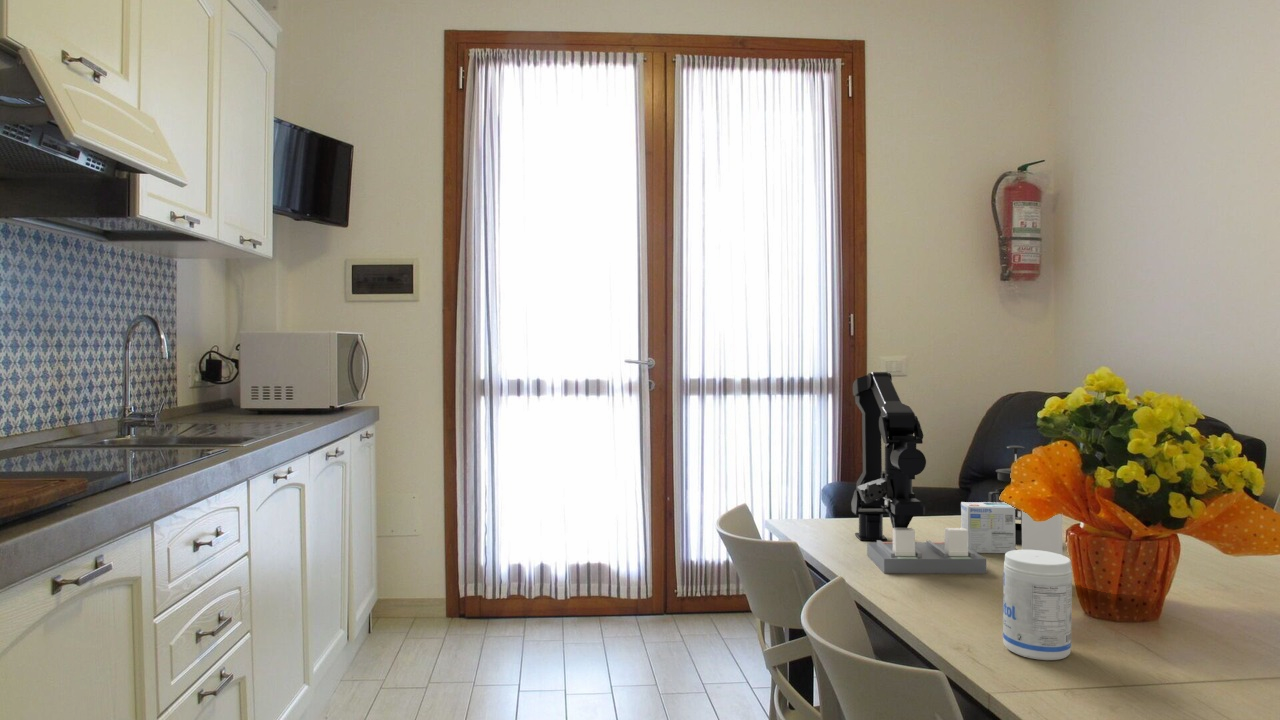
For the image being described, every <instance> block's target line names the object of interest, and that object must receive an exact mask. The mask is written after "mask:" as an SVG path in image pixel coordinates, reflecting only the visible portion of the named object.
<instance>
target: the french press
mask: <svg viewBox="0 0 1280 720" xmlns="http://www.w3.org/2000/svg"><path fill="white" fill-rule="evenodd" d="M1005 447H1006V448H1007V449H1010V450H1013V454H1014V462H1015V461H1016V462H1017V455H1019V450H1024V449H1026V447H1025V446H1021V445H1008V446H1005ZM995 472H996V473H997V480H998V481H1002V482H1007V483H1008V482H1009V483H1012V482H1011V478H1010V473H1011V467H1009V468H998V469H996V470H995ZM1005 488H1006V487H1005ZM1005 488H1004V487H1003V488H997V489H995V491H989V492H988V502H994V495H995V496H996V497H995V498H996V500H995V501H996V502H995V503H997V502H998V503H1001V499H1000V500H999V496H1000V494H1001V492H1002V491H1003V490H1004V489H1005ZM1016 520H1019V521H1020V523H1018V522H1015V545H1021V546H1022V511H1021V510H1019V509H1016V508H1015V521H1016Z"/></svg>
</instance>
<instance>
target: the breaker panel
mask: <svg viewBox="0 0 1280 720" xmlns="http://www.w3.org/2000/svg"><path fill="white" fill-rule="evenodd" d="M866 546H867V547H866V556H867V557H868V558H869V559H870V560H871V561H872V562H873V563H874V565H876V566H877V568H878V569H880V571H882V573H884V574H947V575H948V574H951V575H952V574H957V575H958V574H959V575H960V574H965V575H966V574H969V575H970V574H979V575H980V574H981V575H982V574H984V575H985V574H987V558H985V557H984V556H982V555H981V554H980V553H976V552H975V551H973V550H972V549H970V548H969V547H968V556H948V553H946V552H945V551H944V548H945V541H932V540H930V539H929V540H928V539H927V540H925V542H918V541H917V542H916V541H915V556H895V553H894V552H893V551H892V548H893V541H883V540H876V542H875V541H873V542H866Z"/></svg>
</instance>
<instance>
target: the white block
mask: <svg viewBox="0 0 1280 720" xmlns="http://www.w3.org/2000/svg"><path fill="white" fill-rule="evenodd" d="M892 542H893V548H892V551H893V552H894V553H895V556H915V542H916V530H915V529H914V528H913V527H907V528H892Z"/></svg>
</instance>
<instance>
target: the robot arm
mask: <svg viewBox="0 0 1280 720" xmlns="http://www.w3.org/2000/svg"><path fill="white" fill-rule="evenodd" d="M852 383H853V384H852V395H853V397H854V401H855V405H856V406H857V408H858V409H859V410H860V412H861V415H862V416H861V426H862V427H861V430H862V431H861V433H862V434H861V435H862V442H861V443H862V473H861V475H860V476H859V478H858V479H857V481H856V487H855V489H854V492H853V495H852V499H851V502H850V503H851V504H850V505H851V512H852V513H853V514H854V515H855V516H858V532H855V533H854V535H855V536H856V538H858V539H859V540H860V541H877V540H881V541H888V538H887V536H885V535H884V530H883V529H884V523H883V521H884V519H883V518H884V516H883V515H887V516H888V517H889V519H890V524H891V527H892V529H893V528H909V525H910V523H911V522H912V519H913V517H915V516H924V515H925V516H926V505H925V504H924V503H923V502H922V501H921V500H920V499H917V498H916V493H914V492H913V480H916V476H918V475H919V474H921V473H923V471H924V470H925V468H926V466H927V459H926V456H925V454H924V452H922V451H921V450H919V449H918V448H917V444H918V445H921V444H923V438H924V434H923V429H922V426H921V423H920V421H919V418H918V416H917V415H916V414H915V412H914V410H913V409H912V408H911V406H909V405H907V404H905V403H903V402H902V401H901V399H900V397H899V394H898V392H897V389H896V388H895V386H894V384H893V378H892V374H891V372H888V371H872V372H868V373H867V374H866V375H863V376H860V377H857V378H856V379H855V380H854V381H853V382H852ZM882 441H883V443H884V444H885V445H884V470H883V468H882V467H883V466H882V465H883V463H882V462H883V461H882V460H883V459H882V456H883V455H882Z"/></svg>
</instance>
